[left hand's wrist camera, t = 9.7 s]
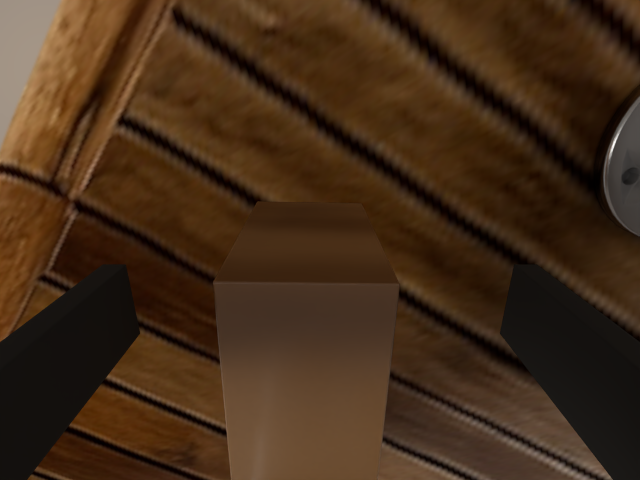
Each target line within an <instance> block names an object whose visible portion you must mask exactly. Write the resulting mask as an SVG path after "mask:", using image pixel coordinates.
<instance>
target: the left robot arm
mask: <svg viewBox="0 0 640 480" xmlns="http://www.w3.org/2000/svg"><path fill="white" fill-rule="evenodd" d="M594 182H595V190H596V194H597V198H598V200H599V203H600V205H601V207H602V209H603V211H604V212H605V213H606V215H607V216H608V217H609V218H610V219H611V220H612V221H613V222H614V223H615V224H616V225H618V226H619V227H621V228H622V229H624V230H626V231H628V232H630V233H633V234H635V235H637V236H640V85H639V86H638V87H637V88H636V89H635V90H634V91H633V92H632V93H631V94H630V95H629V96H628V97H627V98H626V99H625V101H624V102H623V103H622V105H621V106H620V107H619V108H618V110H617V111H616V113H615V114H614V116H613V117H612V119H611V121H610V123H609V125H608V126H607V128H606V130H605V133H604V135H603V137H602V140H601V142H600V145H599V148H598V152H597V156H596V162H595V170H594ZM139 334H140V331H139V326H138V321H137V316H136V311H135V307H134V302H133V297H132V292H131V287H130V283H129V278H128V273H127V268H126V265H102V266H101V267H99V268H98V269H97V270H95V271H94V272H93V273H91V274H90V275H89V276H87V277H86V278H85V279H83V280H82V281H81V282H79V283H78V284H77V285H75V286H74V287H73V288H71V289H70V290H69V291H67V292H66V293H65V294H63V295H62V296H61V297H59V298H58V299H57V300H55V301H54V302H53V303H52V304H50V305H49V306H48V307H46V308H45V309H44V310H42V311H41V312H40V313H38V314H37V315H36V316H34V317H33V318H32V319H30V320H29V321H28V322H26V323H25V324H24V325H22V326H21V327H20V328H18V329H17V330H16V331H14V332H13V333H12V334H10V335H9V336H8V337H6V338H5V339H4V340H2V341H1V342H0V480H27V479H28V478H29V476H30V475H31V474H32V472H33V471H34V470H35V469H36V467H37V466H38V465H39V463H40V462H41V461H42V460H43V458H44V457H45V456H46V454H47V453H48V452H49V450H50V449H51V448H52V447H53V445H54V444H55V443H56V441H57V440H58V439H59V438H60V436H61V435H62V434H63V432H64V431H65V430H66V429H67V427H68V426H69V425H70V423H71V422H72V421H73V419H74V418H75V417H76V416H77V414H78V413H79V412H80V410H81V409H82V408H83V407H84V405H85V404H86V403H87V401H88V400H89V399H90V397H91V396H92V395H93V394H94V392H95V391H96V390H97V388H98V387H99V386H100V385H101V383H102V382H103V381H104V379H105V378H106V377H107V376H108V374H109V373H110V372H111V370H112V369H113V368H114V366H115V365H116V364H117V363H118V361H119V360H120V359H121V357H122V356H123V355H124V354H125V352H126V351H127V350H128V348H129V347H130V346H131V344H132V343H133V342H134V341H135V339H136V338H137V337H138V335H139ZM500 334H501V335H502V337H503V338H504V339H505V341H506V342H507V343H508V344H509V346H510V347H511V348H512V350H513V351H514V352H515V354H516V355H517V356H518V357H519V359H520V360H521V361H522V363H523V364H524V365H525V366H526V368H527V369H528V370H529V372H530V373H531V374H532V376H533V377H534V378H535V379H536V381H537V382H538V383H539V385H540V386H541V387H542V388H543V390H544V391H545V392H546V394H547V395H548V396H549V397H550V399H551V400H552V401H553V403H554V404H555V405H556V407H557V408H558V409H559V410H560V412H561V413H562V414H563V416H564V417H565V418H566V419H567V421H568V422H569V423H570V425H571V426H572V427H573V429H574V430H575V431H576V432H577V434H578V435H579V436H580V438H581V439H582V440H583V441H584V443H585V444H586V445H587V447H588V448H589V449H590V450H591V452H592V453H593V454H594V456H595V457H596V458H597V460H598V461H599V462H600V463H601V465H602V466H603V467H604V469H605V470H606V471H607V472H608V474H609V475H610V476H611V478H612V479H613V480H640V342H639V341H638V340H636V339H635V338H634V337H632V336H631V335H630V334H628V333H627V332H626V331H624V330H623V329H622V328H620V327H619V326H618V325H616V324H615V323H614V322H612V321H611V320H610V319H608V318H607V317H606V316H604V315H603V314H602V313H600V312H599V311H598V310H596V309H595V308H594V307H592V306H591V305H590V304H588V303H587V302H586V301H585V300H583V299H582V298H581V297H579V296H578V295H577V294H575V293H574V292H573V291H571V290H570V289H569V288H567V287H566V286H565V285H563V284H562V283H561V282H559V281H558V280H557V279H555V278H554V277H553V276H551V275H550V274H549V273H547V272H546V271H545V270H543V269H542V268H541V267H539V266H538V265H514V268H513V273H512V278H511V283H510V287H509V292H508V297H507V302H506V307H505V311H504V316H503V321H502V326H501V331H500Z"/></svg>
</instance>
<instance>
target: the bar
mask: <svg viewBox="0 0 640 480" xmlns="http://www.w3.org/2000/svg"><path fill="white" fill-rule="evenodd" d="M399 287H400V284H399V282H398V280H397V278H396V276H395V274H394V271H393V269H392V267H391V265H390V263H389V261H388V259H387V257H386V254H385V252H384V250H383V248H382V246H381V244H380V242H379V240H378V237H377V235H376V233H375V231H374V229H373V227H372V225H371V223H370V220H369V218H368V216H367V214H366V212H365V210H364V208H363V206H362V204H361V203H313V202H257V203H256V205H255V207H254V209H253V211H252V212H251V214H250V216H249V218H248V220H247V221H246V223H245V225H244V227H243V229H242V231H241V232H240V234H239V236H238V238H237V240H236V241H235V243H234V245H233V247H232V249H231V251H230V252H229V254H228V256H227V258H226V260H225V261H224V263H223V265H222V267H221V269H220V271H219V272H218V274H217V276H216V278H215V280H214V282H213V289H214V300H215V311H216V322H217V332H218V343H219V354H220V365H221V375H222V386H223V397H224V408H225V419H226V429H227V440H228V451H229V462H230V473H231V480H378V474H379V465H380V456H381V447H382V438H383V430H384V421H385V412H386V403H387V394H388V385H389V376H390V367H391V358H392V350H393V341H394V332H395V323H396V314H397V305H398V296H399Z"/></svg>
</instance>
